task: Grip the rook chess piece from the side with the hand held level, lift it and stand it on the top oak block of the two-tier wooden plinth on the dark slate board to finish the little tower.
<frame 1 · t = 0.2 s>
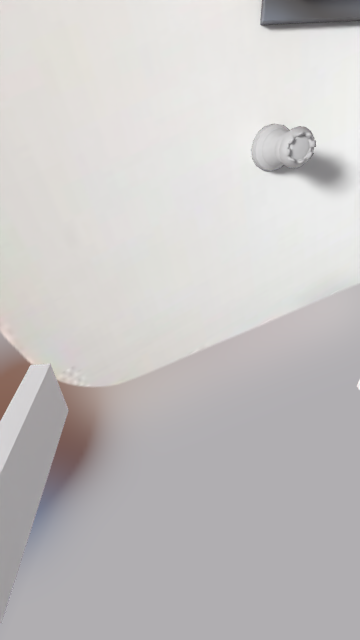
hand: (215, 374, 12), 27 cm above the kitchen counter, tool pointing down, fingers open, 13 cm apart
rook chess piece: (268, 148, 32), on the kitchen counter
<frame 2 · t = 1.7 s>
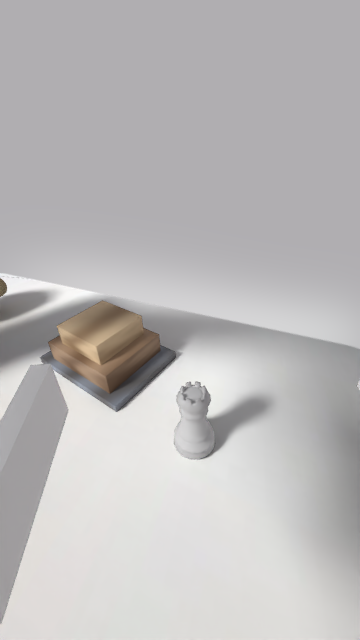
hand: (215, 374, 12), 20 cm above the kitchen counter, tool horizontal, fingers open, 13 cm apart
rook chess piece: (194, 443, 31), on the kitchen counter
plinth: (108, 359, 43), on the kitchen counter
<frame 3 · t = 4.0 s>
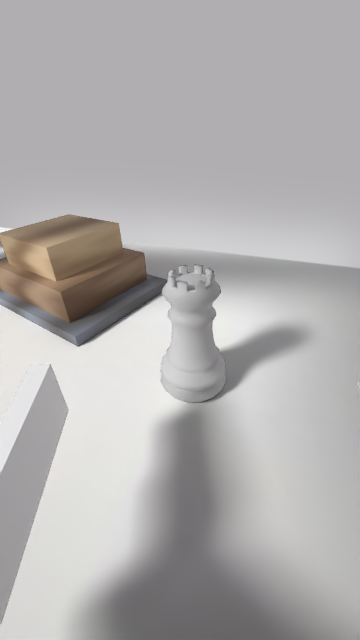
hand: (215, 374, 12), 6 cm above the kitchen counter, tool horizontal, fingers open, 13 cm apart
rook chess piece: (193, 382, 20), on the kitchen counter
plinth: (76, 292, 31), on the kitchen counter
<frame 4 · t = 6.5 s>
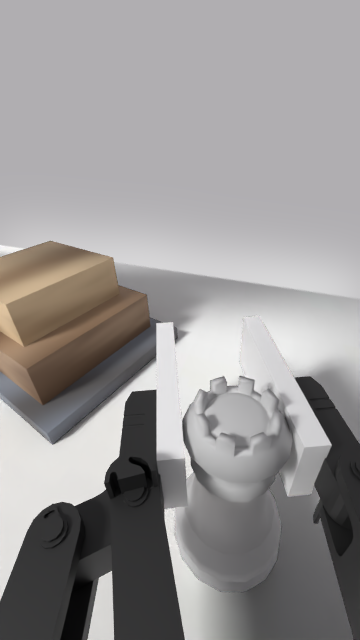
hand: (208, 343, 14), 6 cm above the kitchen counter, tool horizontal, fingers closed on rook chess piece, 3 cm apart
rook chess piece: (225, 530, 13), on the kitchen counter, touching gripper
plinth: (59, 342, 24), on the kitchen counter
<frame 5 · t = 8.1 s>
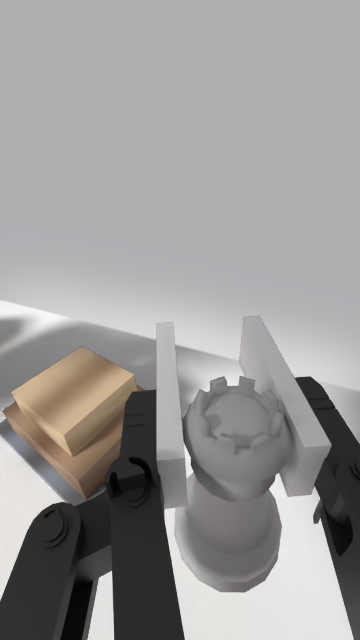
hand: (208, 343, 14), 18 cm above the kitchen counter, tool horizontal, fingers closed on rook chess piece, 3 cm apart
rook chess piece: (225, 530, 13), point 12 cm above the kitchen counter, touching gripper
plinth: (90, 429, 31), on the kitchen counter
when the fingers open (14 cm above the kitchen counter, at t = 10.1 s): rook chess piece drops 1 cm, resting on plinth.
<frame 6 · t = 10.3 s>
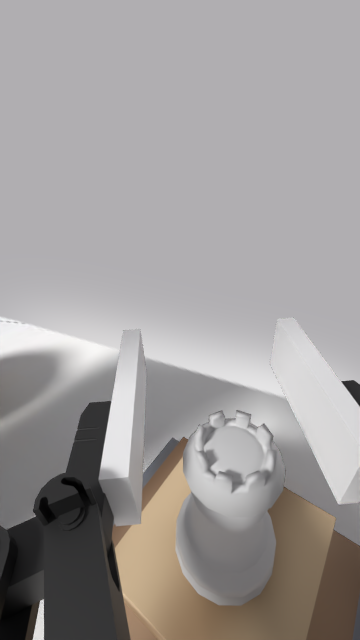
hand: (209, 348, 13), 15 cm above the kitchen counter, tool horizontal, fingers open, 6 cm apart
rook chess piece: (223, 544, 13), point 7 cm above the kitchen counter, touching plinth
plinth: (218, 588, 17), on the kitchen counter
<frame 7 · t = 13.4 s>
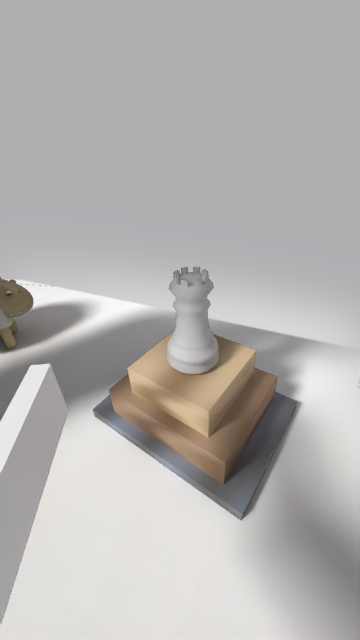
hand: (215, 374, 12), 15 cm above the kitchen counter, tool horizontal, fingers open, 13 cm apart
rook chess piece: (193, 361, 25), point 7 cm above the kitchen counter, touching plinth
plinth: (194, 412, 29), on the kitchen counter
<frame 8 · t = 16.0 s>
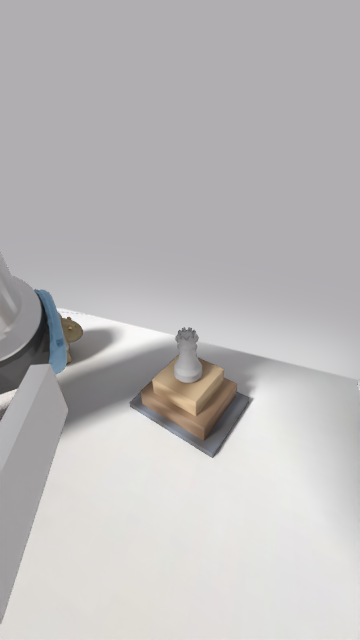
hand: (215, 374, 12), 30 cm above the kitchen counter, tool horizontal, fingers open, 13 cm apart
rook chess piece: (188, 375, 45), point 7 cm above the kitchen counter, touching plinth
toy sheep: (47, 360, 60), on the kitchen counter
plinth: (189, 404, 48), on the kitchen counter
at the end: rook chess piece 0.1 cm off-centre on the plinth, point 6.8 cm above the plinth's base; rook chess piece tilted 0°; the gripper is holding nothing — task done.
